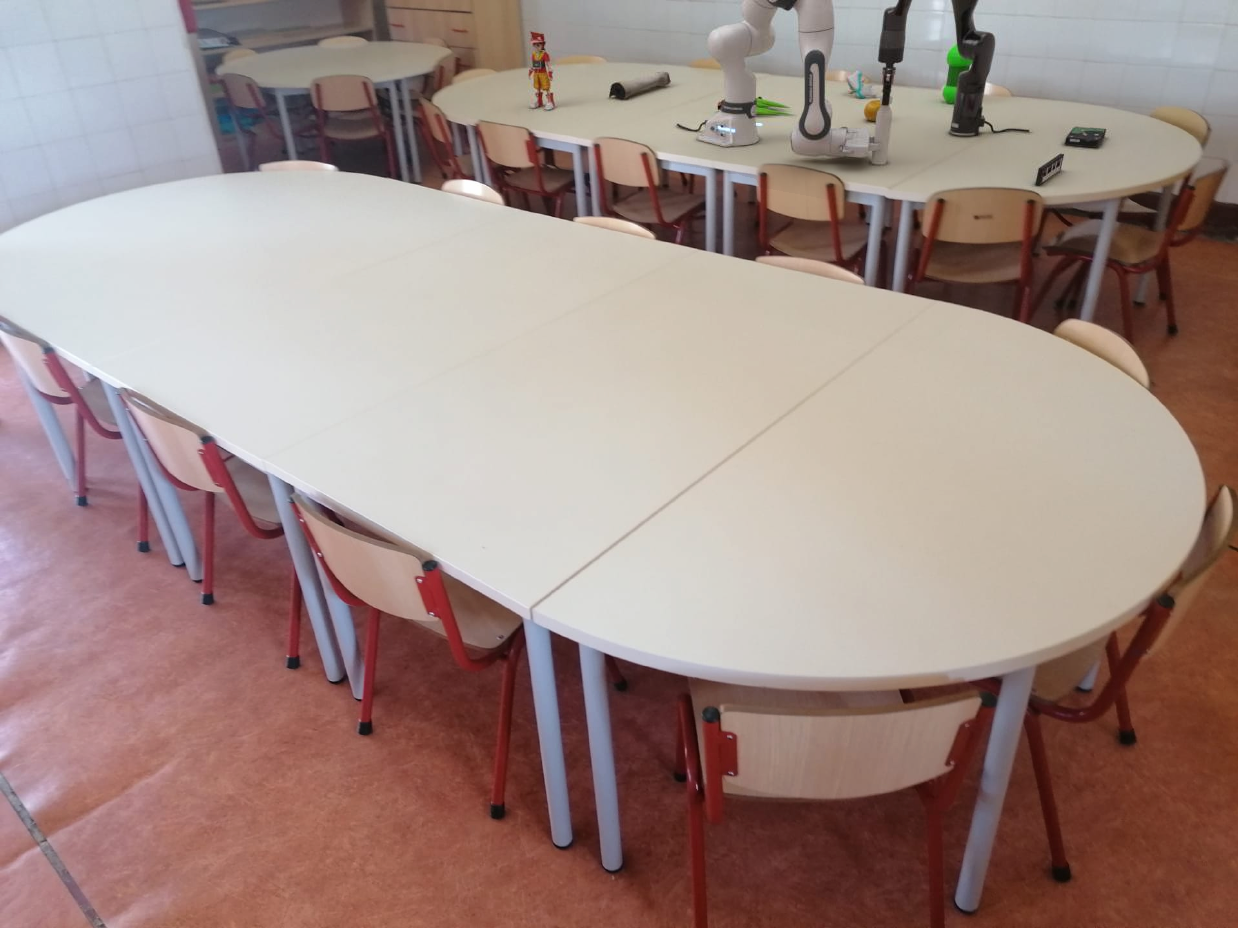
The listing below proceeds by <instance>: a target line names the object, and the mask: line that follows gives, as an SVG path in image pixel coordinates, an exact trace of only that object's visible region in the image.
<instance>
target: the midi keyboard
mask: <svg viewBox="0 0 1238 928" xmlns="http://www.w3.org/2000/svg"><path fill="white" fill-rule="evenodd" d="M1064 157H1065V153H1059V154H1058V155H1056V156H1055V157H1052V159H1051V160H1049V161H1047V162H1045V164H1042V165H1041V166H1039V167H1038V169H1037V175H1036V179H1035V186H1040V185H1042V183H1044V182H1045V181H1047V180H1048V179H1049V178H1051V177H1052V176H1054V175H1055V174H1056V173H1058V172H1060V171H1061V170H1062V165H1063V161H1064Z"/></svg>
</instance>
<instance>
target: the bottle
mask: <svg viewBox="0 0 1238 928" xmlns="http://www.w3.org/2000/svg"><path fill="white" fill-rule="evenodd" d="M892 120H893V111H892V109H891V104H889V105H888V106H883V105H881V107H880V109H879V110H878V111H877V116H876V121H875V124H874V125H875V126H874V134H873V136H874V142H873V144H878V143H883V144H884V147H883V150H874V151H871V158H870V159H871V160H870V163H871V164H873V165H875V166H882V165H885V164H887V160H888V151H889V144H890V135H891V128H892Z"/></svg>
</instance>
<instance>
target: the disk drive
mask: <svg viewBox="0 0 1238 928" xmlns="http://www.w3.org/2000/svg"><path fill="white" fill-rule="evenodd" d="M1106 133H1107V128H1100V127H1083V126H1074V127H1073V128H1072V129H1071V131H1070V132H1069V133H1068V134H1067V135H1066V137H1065V140H1064V145H1069V146H1076V147H1086V148H1098V147H1099V146H1100V145H1101V143H1102V140H1103V139H1105V136H1106Z"/></svg>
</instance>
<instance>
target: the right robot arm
mask: <svg viewBox="0 0 1238 928" xmlns="http://www.w3.org/2000/svg"><path fill="white" fill-rule="evenodd" d="M912 2H913V0H898V1H897V3H896V4H895V5H894V6H889V7H887V8H885V9H884V11H883V16H882V24H881V32H880V38H879V46H878V54H877V55H878V56H877V62H878V63H880V64H885V66H884V67H882V70H881V71H882V72H881V75H882V79H881V85H882V89H881V92H882V96H883V97H882V105H883V106H888V105H889V99H890V96H891V94H892V93H891V92H892V88H893V85H894V82H895V81H894V80H895V75H896V71H897V66H894V65H895V64H900V63H902V62H903V60H904V53H905V45H906V38H907V37H906V31H907V29H906V28H907V21H908V14H909V11H910V8H911V5H912ZM950 2H951V5H952V13H953V18H954V19H953V20H954V24H955V37H956V38H955V40H956V44H957V49H958V53H959V55H960V57H961V58H963V59H966V60H972V61H973V62H972V64H971V65H970V68H969V70H967V71H963V72H961V73H960V74H959V77H958V83H957V90H956V96H955V103H953V110H952V115H951V124H950V129H949V134H950V135H952V136H956V137H973V136H979V131H980V128H984V127H985V124H986V125H988V126H989V127H990V131H991V133H993V134H998V133H999V134H1000V133H1004V132H1011V131H1012V132H1013V131H1015V132H1025V133H1030V129H1026V128H1025V129H1024V128H1013V127H1011V128H1009V127H1008V128H1004V129H1000V130H995V129H994V127H993V124H992V123H990V122H989V121H987V120H986V118H985V115H983V109H984V107H983V102H984V96H985V90H986V83H987V79H988V77H989V74H990V73H991V72H990V71H991V69H992V63H993V59H994V54H995V49H996V37H995V35H994V34H993V32H990V31H984V30H977V29H976V25H975V19H974V13H975V9H976V7H977V6H978V4H979V0H950Z"/></svg>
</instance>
